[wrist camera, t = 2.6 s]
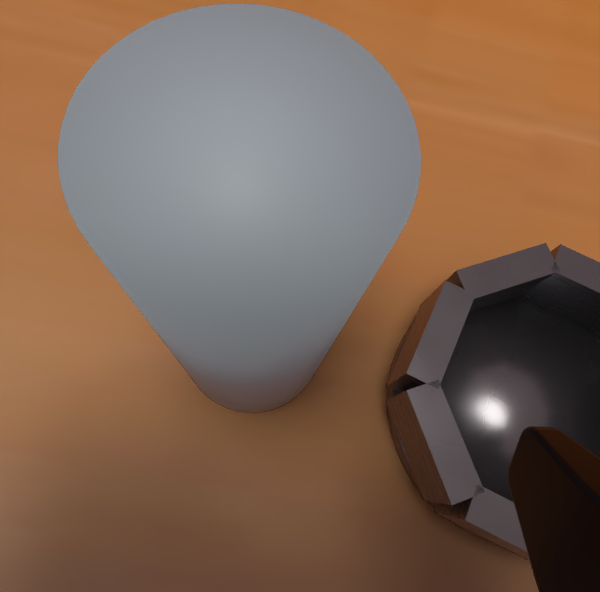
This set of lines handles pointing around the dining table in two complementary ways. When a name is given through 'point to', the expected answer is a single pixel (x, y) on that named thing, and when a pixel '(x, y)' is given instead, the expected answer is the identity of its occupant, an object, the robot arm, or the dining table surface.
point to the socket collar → (496, 380)
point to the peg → (241, 187)
